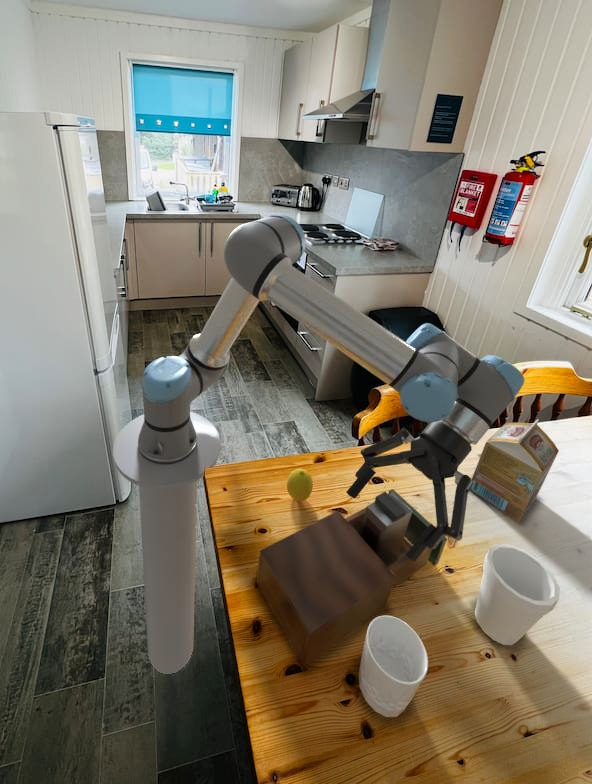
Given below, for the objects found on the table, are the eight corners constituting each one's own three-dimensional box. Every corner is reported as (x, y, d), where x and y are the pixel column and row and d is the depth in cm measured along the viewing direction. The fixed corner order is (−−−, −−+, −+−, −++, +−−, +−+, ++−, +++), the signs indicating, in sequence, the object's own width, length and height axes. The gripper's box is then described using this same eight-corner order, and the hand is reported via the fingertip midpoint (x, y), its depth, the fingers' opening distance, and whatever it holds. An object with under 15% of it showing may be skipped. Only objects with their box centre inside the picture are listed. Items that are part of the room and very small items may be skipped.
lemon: (287, 509, 85) (291, 481, 81) (283, 487, 90) (287, 461, 87) (312, 509, 85) (317, 481, 82) (307, 488, 90) (311, 461, 87)
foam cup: (507, 595, 70) (532, 545, 65) (543, 658, 62) (576, 606, 57) (454, 592, 70) (475, 542, 65) (483, 654, 62) (510, 603, 57)
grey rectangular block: (354, 551, 74) (367, 500, 69) (379, 536, 78) (393, 487, 72) (373, 573, 71) (388, 521, 66) (398, 557, 74) (414, 506, 69)
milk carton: (486, 468, 98) (511, 406, 91) (535, 498, 91) (567, 432, 83) (468, 488, 92) (493, 423, 85) (519, 521, 85) (551, 453, 77)
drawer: (390, 509, 85) (396, 486, 82) (442, 560, 75) (451, 536, 72) (327, 544, 77) (332, 520, 74) (376, 607, 67) (384, 581, 64)
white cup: (380, 644, 63) (393, 605, 59) (422, 702, 56) (441, 663, 52) (342, 672, 59) (354, 632, 55) (384, 738, 53) (400, 698, 49)
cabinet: (331, 541, 78) (338, 510, 75) (385, 608, 67) (395, 576, 64) (256, 582, 70) (259, 550, 67) (303, 667, 59) (311, 633, 56)
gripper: (531, 489, 63) (448, 593, 62) (402, 401, 83) (337, 479, 82) (525, 475, 58) (435, 588, 57) (390, 386, 78) (321, 468, 77)
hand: (377, 524), depth 70 cm, fingers open, 13 cm apart
